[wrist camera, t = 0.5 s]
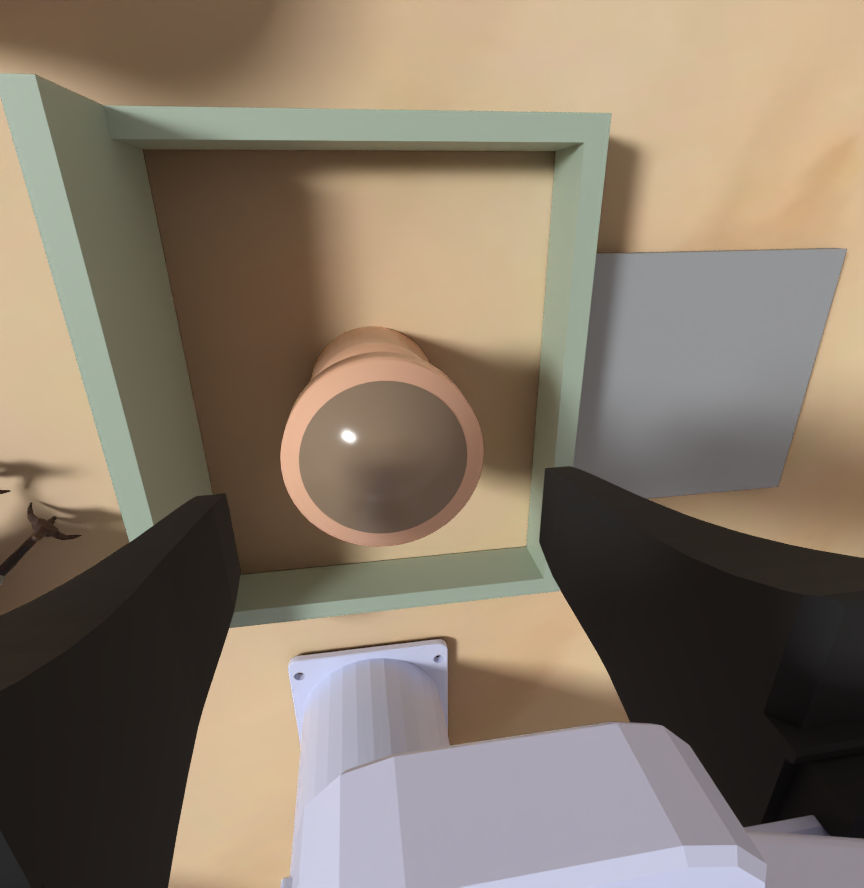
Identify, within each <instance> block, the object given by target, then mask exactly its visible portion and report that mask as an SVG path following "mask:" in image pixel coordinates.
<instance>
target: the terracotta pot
mask: <svg viewBox="0 0 864 888" xmlns="http://www.w3.org/2000/svg"><path fill="white" fill-rule="evenodd" d="M483 457H484V448H483V438H482V433H481V429H480V426H479V423H478V420H477V418H476V416H475V414H474V412H473V410H472V408H471V406H470V405H469V403H468V402H467V400H466V399H465V397H464V396H463V394H462V393H461V391H460V390H459V388H458V387H457V386H456V385H455V383H454V382H453V381H452V380H451V379H450V378H449V377H448V376H447V375H445V374H444V373H443V372H442V371H441V370H439V369H438V368H436V367H435V366H433V365H431V364H430V362H429V361H428V359H427V357H426V355H425V354H424V353H423V351H422V350H421V349H420V347H419V346H418V345H417V344H416V343H415V342H413V341H412V340H411V339H410V338H408V337H407V336H405V335H403V334H402V333H399V332H397V331H395V330H392V329H388V328H383V327H361V328H357V329H353V330H350V331H348V332H345V333H344V334H342V335H340V336H338V337H337V338H335V339H334V340H333V341H331V342H330V343H329V344H328V345H327V346H326V347H325V349H324V350H323V351H322V352H321V354H320V355H319V357H318V359H317V361H316V363H315V366H314V368H313V372H312V376H311V381H310V382H309V383H308V384H307V385H306V387H305V388H304V389H303V390H302V392H301V393H300V394H299V396H298V398H297V399H296V401H295V403H294V405H293V407H292V409H291V412H290V414H289V417H288V421H287V424H286V428H285V431H284V435H283V440H282V444H281V455H280V459H281V471H282V475H283V480H284V483H285V486H286V488H287V491H288V493H289V495H290V497H291V499H292V500H293V502H294V504H295V505H296V506H297V508H298V509H299V510H300V512H301V513H302V514H303V515H304V516H305V517H306V518H307V519H308V520H309V521H310V522H311V523H313V524H314V525H315V526H316V527H318V528H319V529H321V530H322V531H324V532H326V533H327V534H329V535H331V536H333V537H336V538H338V539H340V540H343V541H346V542H350V543H353V544H358V545H364V546H377V547H378V546H393V545H400V544H404V543H408V542H412V541H415V540H418V539H420V538H423V537H425V536H427V535H429V534H431V533H433V532H435V531H437V530H438V529H440V528H441V527H443V526H444V525H446V524H447V523H448V522H449V521H450V520H451V519H453V518H454V517H455V516H456V515H457V514H458V513H459V512H460V511H461V509H462V508H463V507H464V506H465V504H466V503H467V502H468V500H469V499H470V497H471V495H472V494H473V492H474V490H475V488H476V486H477V483H478V480H479V478H480V474H481V470H482V466H483Z"/></svg>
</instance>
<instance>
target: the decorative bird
mask: <svg viewBox="0 0 864 888" xmlns="http://www.w3.org/2000/svg"><path fill="white" fill-rule="evenodd" d="M7 492H10V490H0V494H3V493H7ZM27 516H28V519H29V521H30V522H31V523H32V528H33V529H34V530H35V532H34V533H33V534H32V535H31V536H30V537H29V538H28V539H27V540H26V541H25V542H24V543H23V544H22V545H21V546H20V547H19V548H18V549H17V550H16V551H15V552H14V553H13V554H12V555H11V556H10V557H9V558H8V559H7V560H6V561H5V562H4V563H3V564H2V565H1V566H0V586H1V584H2V583H3V581H4V578H5V575H6V574H7V573H8V572H9V571H10V570H11V569H12V568H13V567H14V566H15V565H16V564H17V562H18V561H19V560H20V559H21V558H22V557H23V555H24V554H25V553H26V552H27V551H28V550H29V549H30V548H31V547H32V546H33V545H34V544H35V543H36V542H37V541H39V540H41V539H42V538H43V537H44V536H45V537H54V538H57V539H61V540H68V539H75V538H77V537H80V536H81V535H65V534H63V533H61V532H60V531H59V530H58V528H57V527H55V526H54V525H53V524H54V522H55V520H56V517H55V516H54V517H52V518H51V519H49V520H48V521H46V520H45V519H41V518H38V517H37V516H35V515H34V514H33V510H32V502H31V503H30V505H29V507H28V511H27Z"/></svg>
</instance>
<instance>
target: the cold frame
mask: <svg viewBox="0 0 864 888" xmlns="http://www.w3.org/2000/svg"><path fill="white" fill-rule="evenodd" d="M0 97H1V101H2V104H3V108H4V111H5V114H6V118H7V121H8V125H9V128H10V132H11V135H12V139H13V142H14V145H15V149H16V152H17V156H18V159H19V163H20V166H21V170H22V173H23V177H24V180H25V183H26V187H27V190H28V194H29V197H30V201H31V204H32V208H33V211H34V215H35V218H36V221H37V225H38V228H39V232H40V235H41V239H42V242H43V246H44V249H45V252H46V256H47V259H48V263H49V266H50V270H51V273H52V277H53V280H54V284H55V287H56V290H57V294H58V297H59V301H60V304H61V308H62V311H63V315H64V318H65V321H66V325H67V328H68V332H69V335H70V339H71V342H72V346H73V349H74V353H75V356H76V359H77V363H78V366H79V370H80V373H81V377H82V380H83V384H84V387H85V390H86V394H87V397H88V401H89V404H90V408H91V411H92V415H93V418H94V422H95V425H96V428H97V432H98V435H99V439H100V442H101V446H102V449H103V453H104V456H105V460H106V463H107V466H108V470H109V473H110V477H111V480H112V484H113V487H114V491H115V494H116V497H117V501H118V504H119V508H120V511H121V515H122V518H123V522H124V525H125V529H126V532H127V535H128V539H129V542H131V541H133V540H134V539H135V538H137V537H138V536H140V535H141V534H142V533H144V532H145V531H146V530H148V529H149V528H151V527H152V526H153V525H155V524H156V523H158V522H159V521H160V520H162V519H163V518H165V517H166V516H167V515H169V514H170V513H171V512H173V511H174V510H176V509H177V508H178V507H180V506H181V505H183V504H184V503H186V502H187V501H189V500H190V499H192V498H194V497H196V496H203V495H213V492H212V487H211V483H210V478H209V473H208V468H207V463H206V458H205V453H204V448H203V443H202V439H201V434H200V429H199V424H198V419H197V414H196V409H195V404H194V399H193V395H192V390H191V385H190V380H189V375H188V370H187V365H186V360H185V355H184V350H183V346H182V341H181V336H180V331H179V326H178V321H177V316H176V311H175V306H174V302H173V297H172V292H171V287H170V282H169V277H168V272H167V267H166V262H165V257H164V253H163V248H162V243H161V238H160V233H159V228H158V223H157V218H156V213H155V209H154V204H153V199H152V194H151V189H150V184H149V179H148V174H147V169H146V165H145V160H144V155H143V150H142V149H210V150H415V151H556V154H555V168H554V181H553V195H552V208H551V222H550V235H549V249H548V262H547V276H546V289H545V302H544V316H543V329H542V343H541V356H540V370H539V383H538V397H537V410H536V424H535V437H534V451H533V464H532V478H531V491H530V505H529V518H528V532H527V545H526V547H517V548H507V549H497V550H486V551H476V552H466V553H456V554H446V555H436V556H426V557H416V558H406V559H396V560H386V561H375V562H365V563H355V564H345V565H335V566H325V567H315V568H305V569H295V570H285V571H275V572H265V573H254V574H244V575H240V581H239V587H238V593H237V599H236V604H235V610H234V614H233V617H232V620H231V624H230V627H229V628H234V627H243V626H251V625H260V624H269V623H278V622H287V621H296V620H305V619H314V618H323V617H332V616H341V615H350V614H359V613H368V612H377V611H386V610H395V609H403V608H412V607H421V606H430V605H439V604H448V603H457V602H466V601H475V600H484V599H493V598H502V597H511V596H520V595H529V594H538V593H547V592H555V591H559V590H560V588H559V587H558V585H557V583H556V581H555V580H554V578H553V576H552V573H551V571H550V569H549V566H548V564H547V562H546V559H545V556H544V554H543V551H542V549H541V546H540V543H539V535H540V523H541V510H542V498H543V486H544V474H545V468H552V467H565V466H571V467H573V462H574V453H575V444H576V435H577V425H578V416H579V407H580V398H581V389H582V380H583V370H584V361H585V352H586V343H587V334H588V325H589V315H590V306H591V297H592V288H593V279H594V270H595V260H596V251H597V242H598V233H599V224H600V215H601V205H602V196H603V187H604V178H605V169H606V159H607V150H608V141H609V132H610V123H611V114H612V113H570V112H504V111H438V110H372V109H306V108H241V107H175V106H109V105H101V104H99V103H97V102H95V101H93V100H90V99H88V98H86V97H84V96H82V95H79V94H77V93H75V92H73V91H71V90H68V89H66V88H64V87H62V86H60V85H57V84H55V83H53V82H51V81H49V80H46V79H44V78H42V77H40V76H38V75H35V74H5V73H0Z"/></svg>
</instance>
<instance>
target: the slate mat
mask: <svg viewBox="0 0 864 888" xmlns="http://www.w3.org/2000/svg"><path fill="white" fill-rule="evenodd" d="M846 251H847V249H842V248H813V249H769V250H724V251H680V252H635V253H596V260H595V270H594V279H593V288H592V297H591V306H590V315H589V325H588V334H587V343H586V352H585V361H584V370H583V380H582V389H581V398H580V407H579V416H578V425H577V435H576V444H575V453H574V462H573V467H575V468H578V469H580V470H583V471H585V472H588V473H590V474H592V475H595V476H597V477H599V478H601V479H604V480H606V481H608V482H610V483H612V484H615V485H617V486H619V487H621V488H623V489H625V490H628V491H630V492H632V493H634V494H636V495H639V496H641V497H643V498H646V499H647V498H658V497H670V496H681V495H692V494H703V493H714V492H726V491H737V490H748V489H759V488H770V487H778V486H779V482H780V479H781V475H782V472H783V468H784V465H785V461H786V458H787V454H788V451H789V448H790V444H791V441H792V437H793V434H794V430H795V427H796V423H797V420H798V417H799V413H800V410H801V406H802V403H803V399H804V396H805V392H806V389H807V385H808V382H809V379H810V375H811V372H812V368H813V365H814V361H815V358H816V354H817V351H818V348H819V344H820V341H821V337H822V334H823V330H824V327H825V323H826V320H827V316H828V313H829V310H830V306H831V303H832V299H833V296H834V292H835V289H836V285H837V282H838V279H839V275H840V272H841V268H842V265H843V261H844V258H845V254H846Z"/></svg>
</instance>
